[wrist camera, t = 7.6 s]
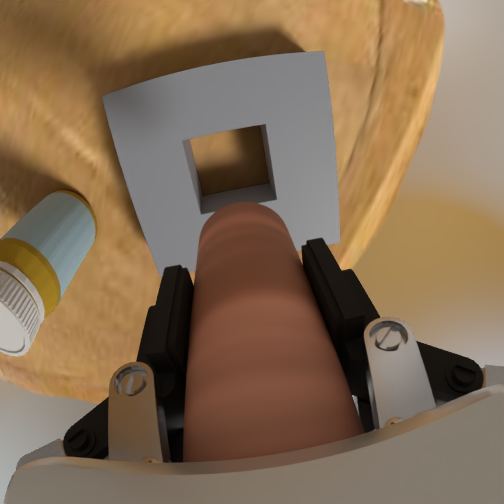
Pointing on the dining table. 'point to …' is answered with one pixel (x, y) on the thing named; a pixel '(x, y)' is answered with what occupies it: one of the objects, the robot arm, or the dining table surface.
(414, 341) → the robot arm
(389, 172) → the dining table surface
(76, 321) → the dining table surface
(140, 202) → the socket block
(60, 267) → the bottle
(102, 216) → the dining table surface
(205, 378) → the peg
